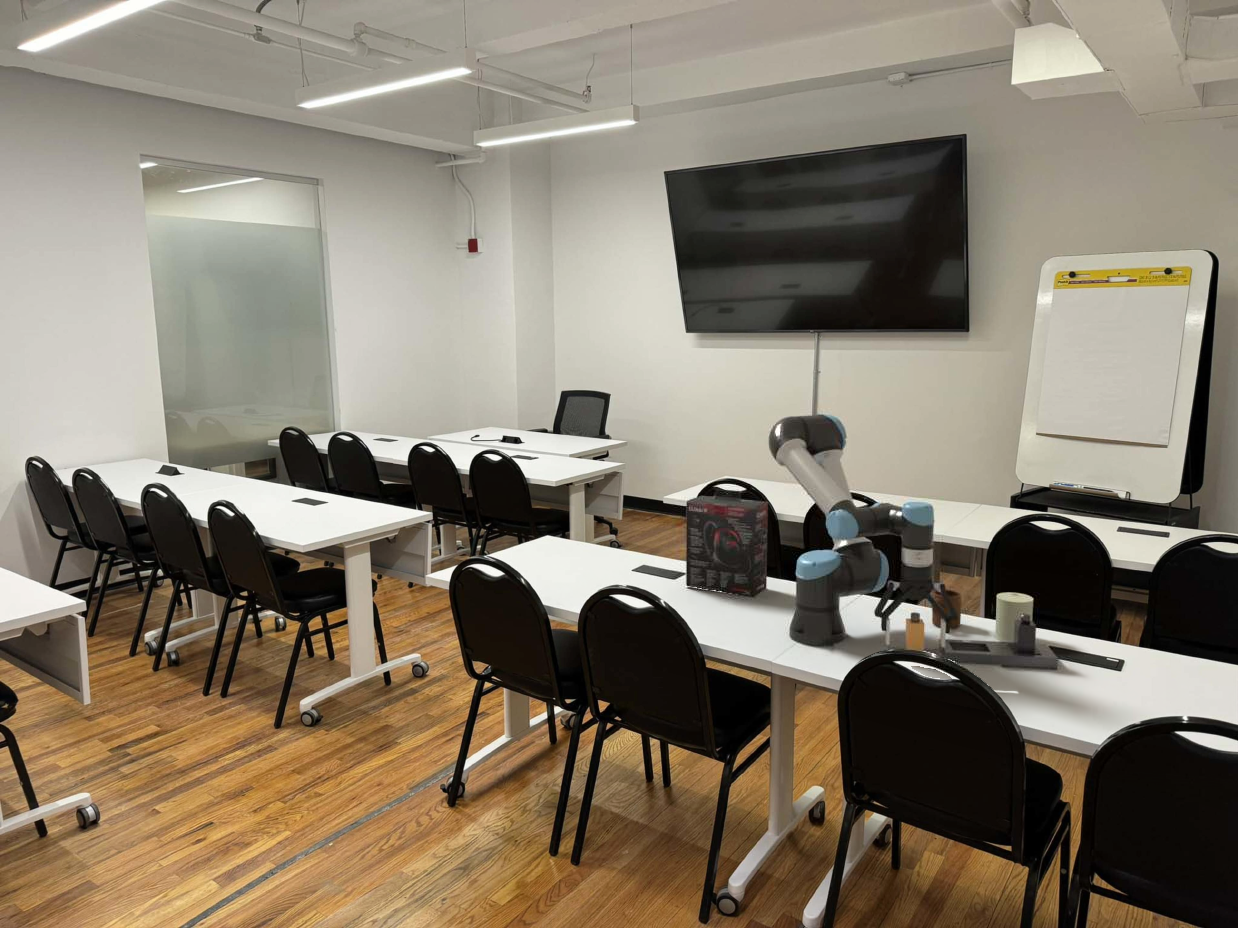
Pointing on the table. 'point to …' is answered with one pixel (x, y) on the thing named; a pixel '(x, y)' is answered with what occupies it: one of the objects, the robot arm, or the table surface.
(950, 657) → the grey fixture base
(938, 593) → the mug
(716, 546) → the headset box
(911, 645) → the orange bottle
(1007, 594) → the can
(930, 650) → the parts mat
